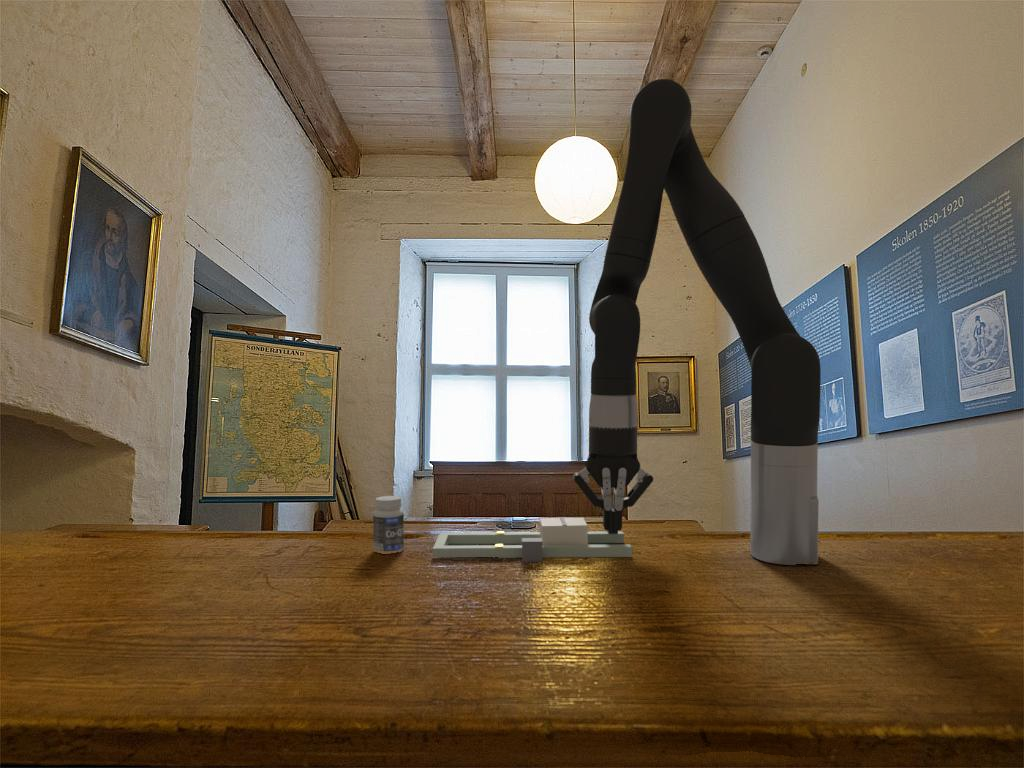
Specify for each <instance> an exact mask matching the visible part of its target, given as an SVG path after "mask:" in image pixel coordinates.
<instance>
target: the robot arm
mask: <svg viewBox="0 0 1024 768" xmlns="http://www.w3.org/2000/svg"><path fill="white" fill-rule="evenodd" d="M630 105H631V106H630V108H629V109H630V111H629V126H630V128H629V129H630V130H629V141H628V142H629V143H628V152H627V159H626V160H627V161H626V166H625V173H624V177H623V181H622V182H623V183H622V187H621V191H620V194H619V198H618V202H617V206H616V211H615V214H614V218H613V222H612V226H611V230H610V233H609V238H608V242H607V246H606V249H605V250H606V251H605V256H604V260H603V266H602V267H603V268H602V271H601V275H600V278H599V281H598V283H597V287H596V290H595V292H594V296H593V299H592V303H591V307H590V309H589V316H588V317H589V318H588V321H589V326H590V329H591V331H592V332H593V334H594V359H593V361H592V362H591V368H590V369H591V371H590V399H589V406H588V457H587V460H586V461H585V463H584V464H585V466H584V467H583V468H582V469H581V470H579V471H578V472H575V473H574V472H573V474H572V478H573V480H574V482H575V483H576V485H577V486H578V487H579V488H580V490H581V491H582V493H584V495H585V497H587V499H588V501H590V503H591V504H592V505H593V506H594V507H596V508H597V507H598V508H601V509H602V525H603V529H604V531H606V532H608V534H618V531H621V530H622V528H623V511H624V510H625V509H626V508H629V507H630V508H632V507H633V506H634V505H635V504H636V503H637V502H638V500H639V499H640V498H641V497H642V495H644V493H645V492H646V491H647V489H648V488H649V487H650V485H651V484H652V483H653V482H654V476H652V474H650V473H649V472H646V471H645V470H644V469H643V468H641V463H640V461H639V459H638V424H639V416H638V413H639V412H638V404H637V403H638V402H637V369H636V367H637V366H636V365H637V357H638V351H639V345H640V344H639V343H640V335H641V314H640V310H639V307H638V305H637V301H638V296H639V292H640V289H641V285H642V284H643V282H644V281H645V280H646V278H647V275H648V272H649V269H650V265H651V262H652V257H653V253H654V248H655V244H656V239H657V234H658V228H659V224H660V223H659V222H660V217H661V215H660V214H661V208H662V202H663V195H664V193H666V196H667V198H668V201H669V203H670V207H671V209H672V211H673V215H674V217H675V219H676V222H677V224H678V226H679V227H678V228H679V229H680V231H681V233H682V235H683V237H684V240H685V243H686V245H687V247H688V250H689V251H690V253H691V255H692V257H693V259H694V261H695V263H696V265H697V267H698V269H699V271H700V272H701V274H702V275H703V277H704V279H705V281H706V282H707V284H708V286H709V288H710V289H711V290H712V292H713V294H714V295H715V296H716V298H717V299H718V301H719V303H721V306H723V308H724V310H725V311H726V312H727V315H729V318H730V319H731V321H732V323H733V325H734V326H735V328H736V331H737V334H738V335H739V338H740V341H741V343H742V345H743V349H744V351H745V354H746V356H747V359H748V363H749V365H750V369H751V370H750V371H751V373H750V376H751V378H750V380H751V381H750V385H751V387H750V389H751V390H750V391H751V392H750V393H751V396H750V397H751V398H750V402H751V403H750V404H751V405H750V409H751V410H750V537H749V538H750V539H749V540H750V542H749V543H750V550H749V551H750V555H751V556H752V557H753V558H755V559H757V560H759V561H762V562H765V563H771V564H776V565H785V566H786V565H787V566H797V565H796V564H805V563H817V564H818V565H819V498H818V457H819V455H818V453H819V452H818V449H819V448H818V446H819V445H818V441H819V440H818V439H819V438H818V437H819V426H820V420H821V417H820V416H821V414H820V413H821V384H822V383H821V372H822V370H821V359H820V356H819V352H818V351H817V350H816V347H815V346H814V345H813V344H812V343H811V342H810V341H809V340H807V339H806V338H804V337H802V336H801V335H800V334H799V332H798V331H797V329H796V328H795V325H793V322H792V321H791V320H790V317H789V316H788V314H787V313H786V312H785V310H784V308H783V306H782V304H781V302H780V301H779V298H778V296H777V293H776V291H775V288H774V285H773V282H772V279H771V276H770V275H771V274H770V272H769V268H768V266H767V263H766V259H765V257H764V254H763V252H762V249H761V247H760V244H759V243H758V240H757V238H756V235H755V234H754V231H753V229H752V228H751V225H750V223H749V222H748V220H747V218H746V216H745V214H744V212H743V210H742V209H741V207H740V205H739V204H738V203H737V201H736V200H735V198H734V197H733V196H732V195H731V194H730V192H728V190H727V189H726V188H725V187H724V186H723V184H722V183H721V182H720V181H719V180H718V179H717V178H716V177H715V176H714V174H713V173H712V171H711V170H710V168H709V167H708V165H707V163H706V161H705V159H704V157H703V155H702V152H701V151H700V148H699V146H698V143H697V140H696V137H695V134H694V132H693V129H692V122H691V121H692V113H693V112H692V103H691V98H690V97H689V94H688V92H687V90H686V89H685V88H684V87H683V86H682V84H680V83H679V82H677V81H675V80H673V79H669V78H660V79H659V78H658V79H655V80H652V81H650V82H647V83H646V84H645V85H643V86H642V87H641V89H639V90H638V92H637V93H636V95H635V96H634V99H633V100H632V101H631V104H630ZM664 191H665V192H664ZM589 475H590V476H591V478H592V479H593V480H594V481H595V483H596V484H597V486H599V487H600V490H601V491H600V492H601V497H600V496H598V495H597V494H596V493H595V491H594V490H593V489H592V487H591V486H590V485H589V484H588V483H589V482H590V478H589ZM635 477H636V478H635ZM634 478H635V481H636V483H635V485H634V486H633V487H632V488H631V489H630V490H629V492H628V493H627V495H626V496H625V489H626V487H628V486H629V484H630V483H631V482H632V480H634ZM612 488H613V498H612ZM624 496H625V497H624ZM612 499H613V500H612Z"/></svg>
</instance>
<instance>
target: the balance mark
mask: <svg viewBox="0 0 1024 768" xmlns="http://www.w3.org/2000/svg"><path fill="white" fill-rule="evenodd" d="M496 532H497V535H504V532H505V531H504V530H497V531H496ZM494 545H495V548H503V545H504V544H494Z"/></svg>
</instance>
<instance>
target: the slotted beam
mask: <svg viewBox="0 0 1024 768" xmlns="http://www.w3.org/2000/svg"><path fill="white" fill-rule="evenodd" d="M624 535H625V534H624V532H623V531H621V530H618V534H608V532H607V531H588V545H542V538H540V531H506V532H505V531H504V535H497V531H493V532H492V531H490V532H487V531H485V532H484V531H483V532H482V531H481V532H478V531H477V532H440V533H439V534H438V535H437V539H436V541H435V543H434V544H433V547H432V558H433V557H493V558H492V559H496V558H495V557H498V558H497V559H499V558H500V559H508V558H509V559H513V558H514V559H515V558H516V559H518V558H519V559H521V558H522V559H521V561H522V563H524V562H526V563H530V562H531V563H533V562H537V563H538V562H543V559H545V558H549V559H550V558H632V554H633V553H632V551H633V550H632V546H631V544H628V543H627V544H626V543H625V536H624ZM493 544H494V545H493ZM495 544H503V548H495ZM514 544H515V545H514Z"/></svg>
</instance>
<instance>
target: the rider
mask: <svg viewBox="0 0 1024 768" xmlns="http://www.w3.org/2000/svg"><path fill="white" fill-rule="evenodd" d="M588 528H589V527H588V523H587V522H586V520H585V518H584V517H563V516H562V517H546V518H545V517H543V518H539V532H540V538H542V545H589V543H588V532H589V531H588Z"/></svg>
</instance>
